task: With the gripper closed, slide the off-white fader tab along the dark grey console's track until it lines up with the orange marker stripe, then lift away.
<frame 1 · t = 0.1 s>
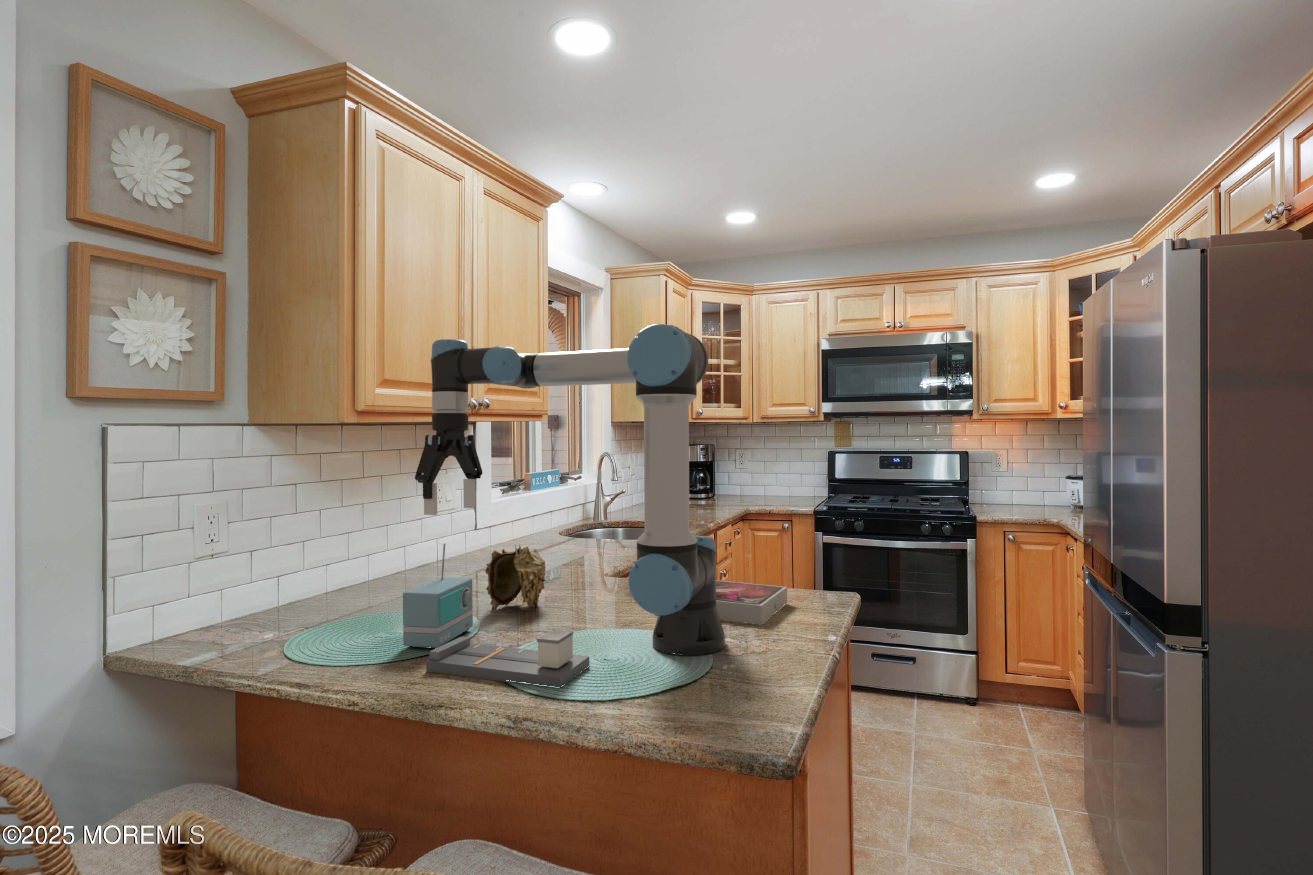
hand: (451, 511, 148), 28 cm above the table, tool pointing down, fingers open, 13 cm apart
seashell: (517, 609, 175), on the table
fader console: (508, 668, 130), on the table
product packaging: (721, 610, 175), on the table
radio: (441, 640, 149), on the table
fader tab: (555, 648, 127), point 5 cm above the table, slide at 0.0 cm
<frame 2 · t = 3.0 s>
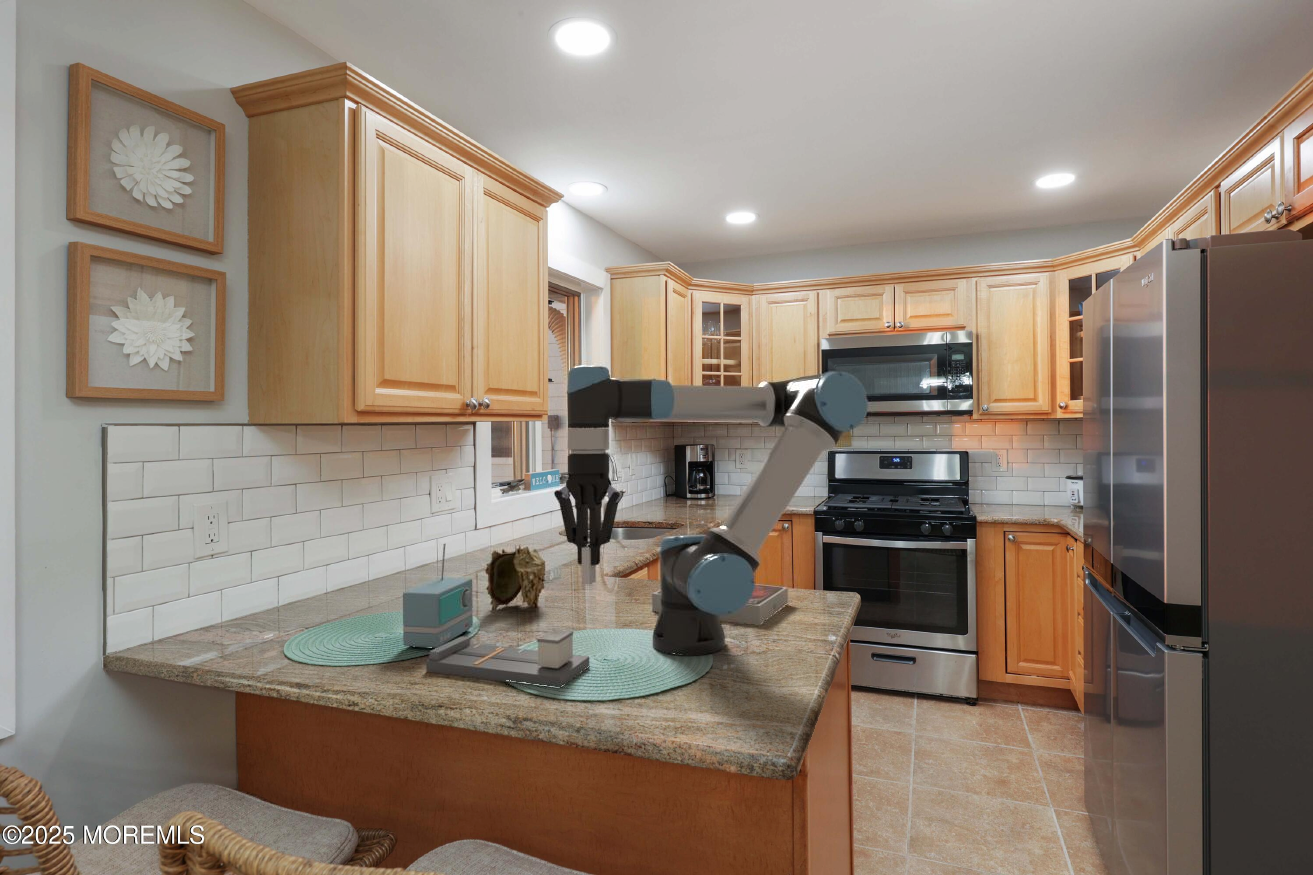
hand: (588, 582, 124), 17 cm above the table, tool pointing down, fingers closed
nothing on the table moved.
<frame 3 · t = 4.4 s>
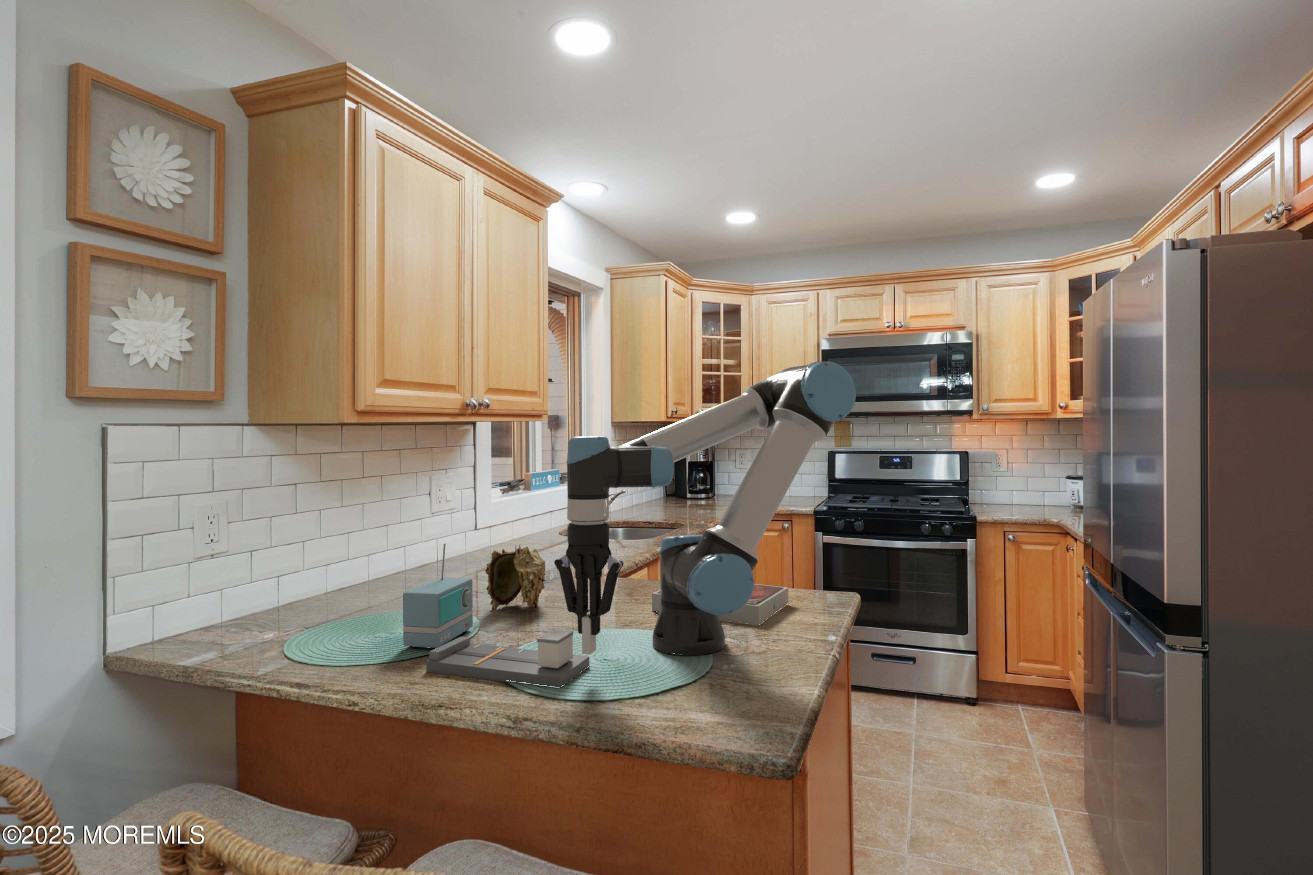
hand: (589, 651, 124), 5 cm above the table, tool pointing down, fingers closed
nothing on the table moved.
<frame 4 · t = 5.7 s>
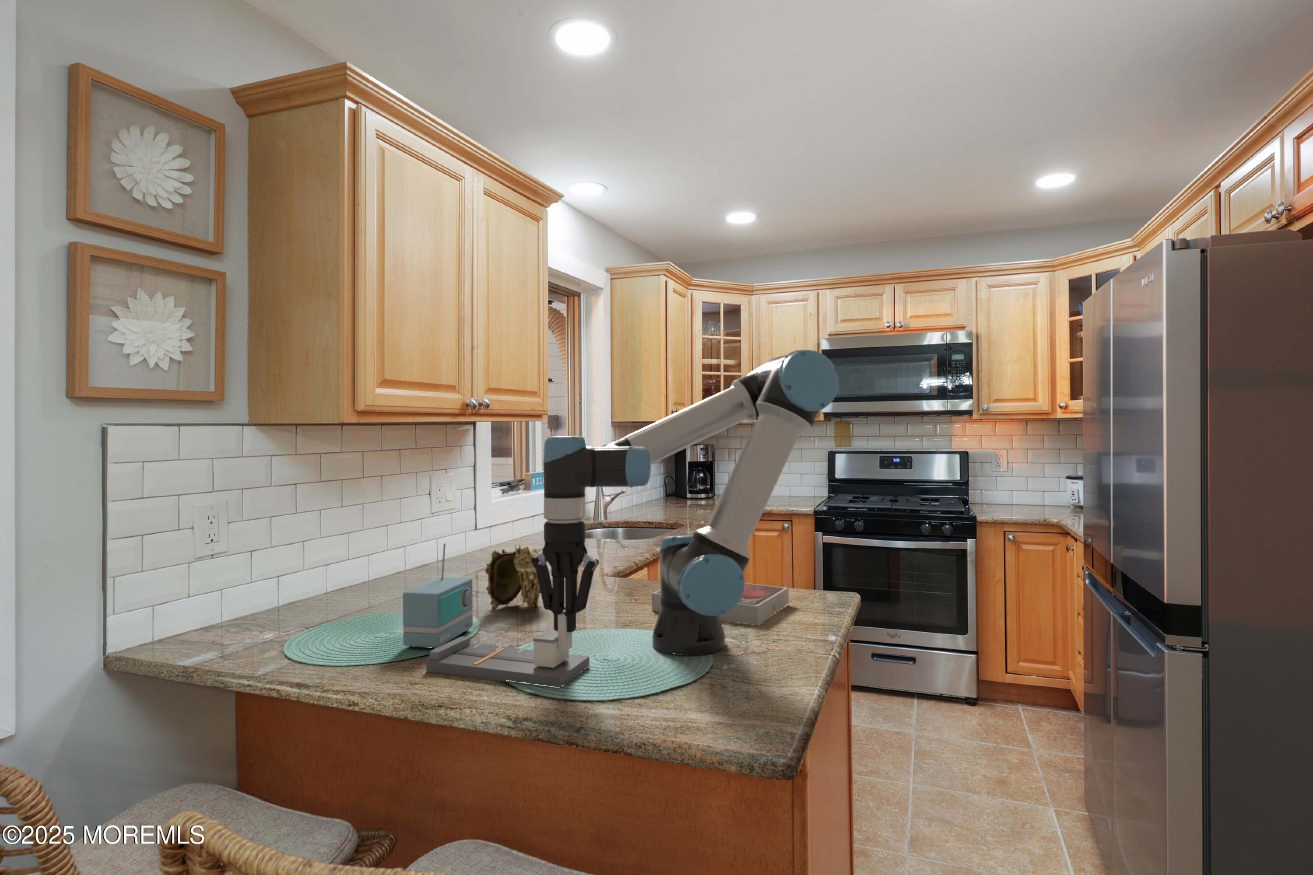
hand: (565, 648, 126), 5 cm above the table, tool pointing down, fingers closed
fader tab: (551, 647, 127), point 5 cm above the table, slide at 0.8 cm, touching gripper
everything else where it was.
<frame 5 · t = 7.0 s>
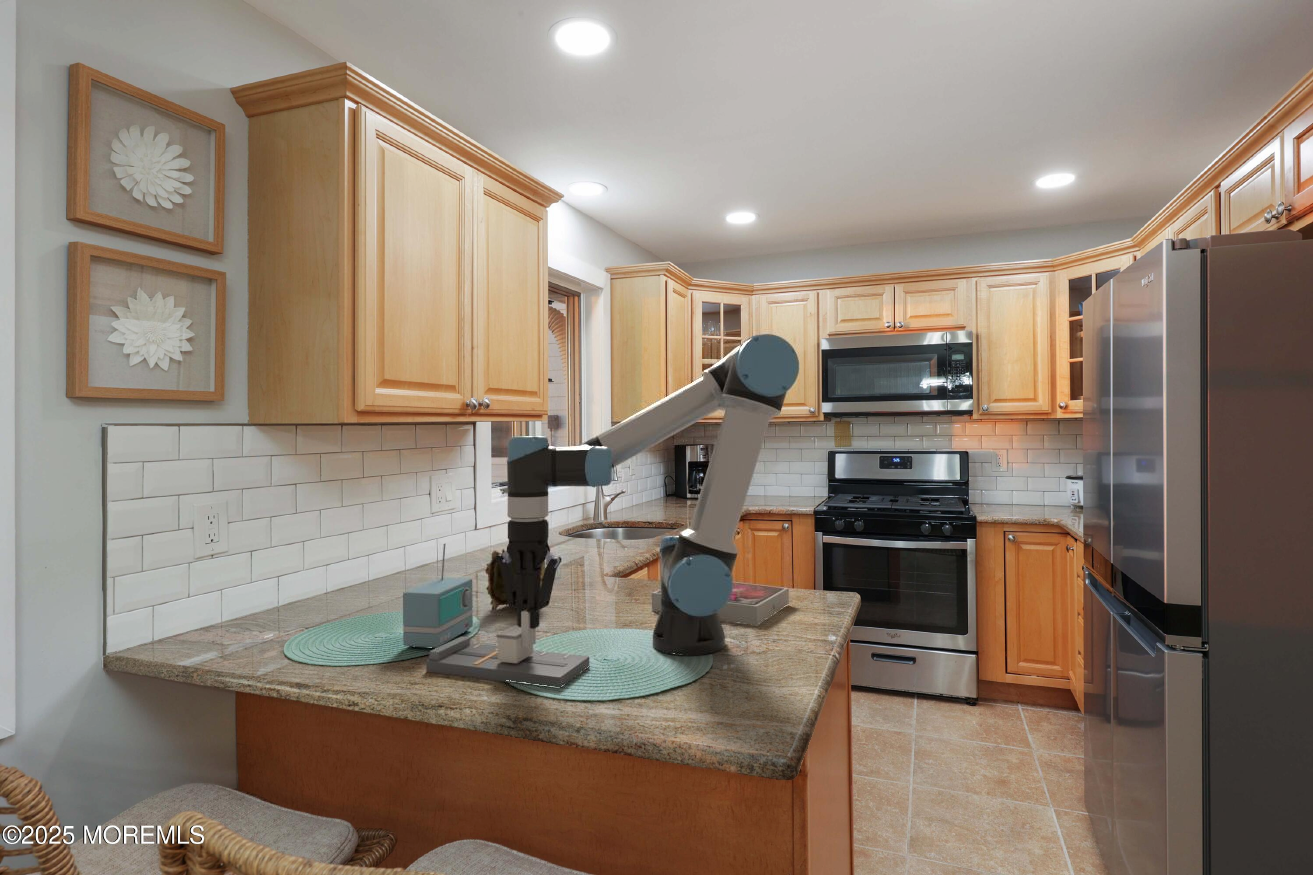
hand: (528, 644, 128), 5 cm above the table, tool pointing down, fingers closed
fader tab: (515, 643, 129), point 5 cm above the table, slide at 8.4 cm, touching gripper
everything else where it was.
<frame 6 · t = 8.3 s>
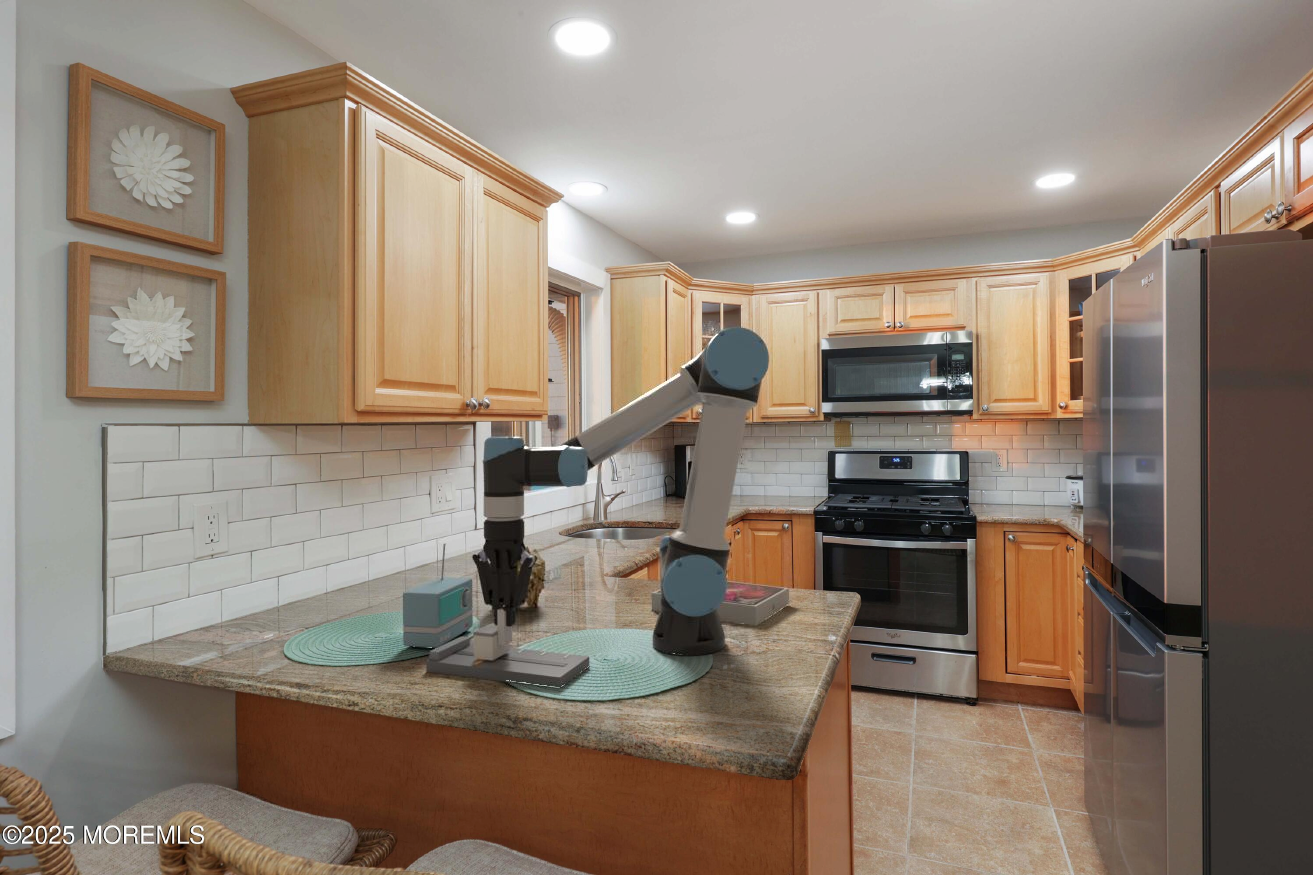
hand: (504, 642, 130), 5 cm above the table, tool pointing down, fingers closed
fader tab: (492, 641, 131), point 5 cm above the table, slide at 13.5 cm, touching gripper
everything else where it was.
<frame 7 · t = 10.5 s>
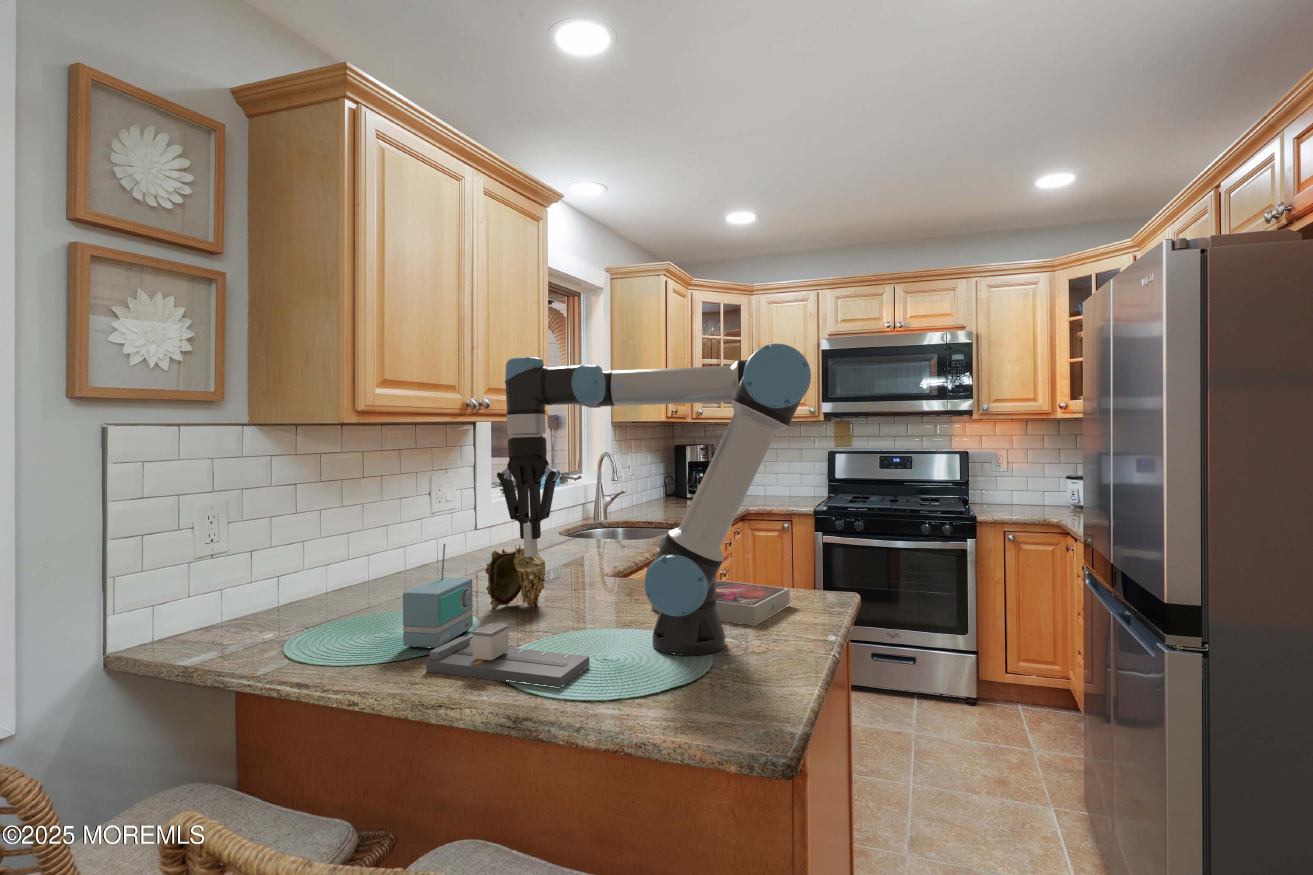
hand: (531, 555, 136), 20 cm above the table, tool pointing down, fingers closed
fader tab: (490, 641, 131), point 5 cm above the table, slide at 13.8 cm
everything else where it was.
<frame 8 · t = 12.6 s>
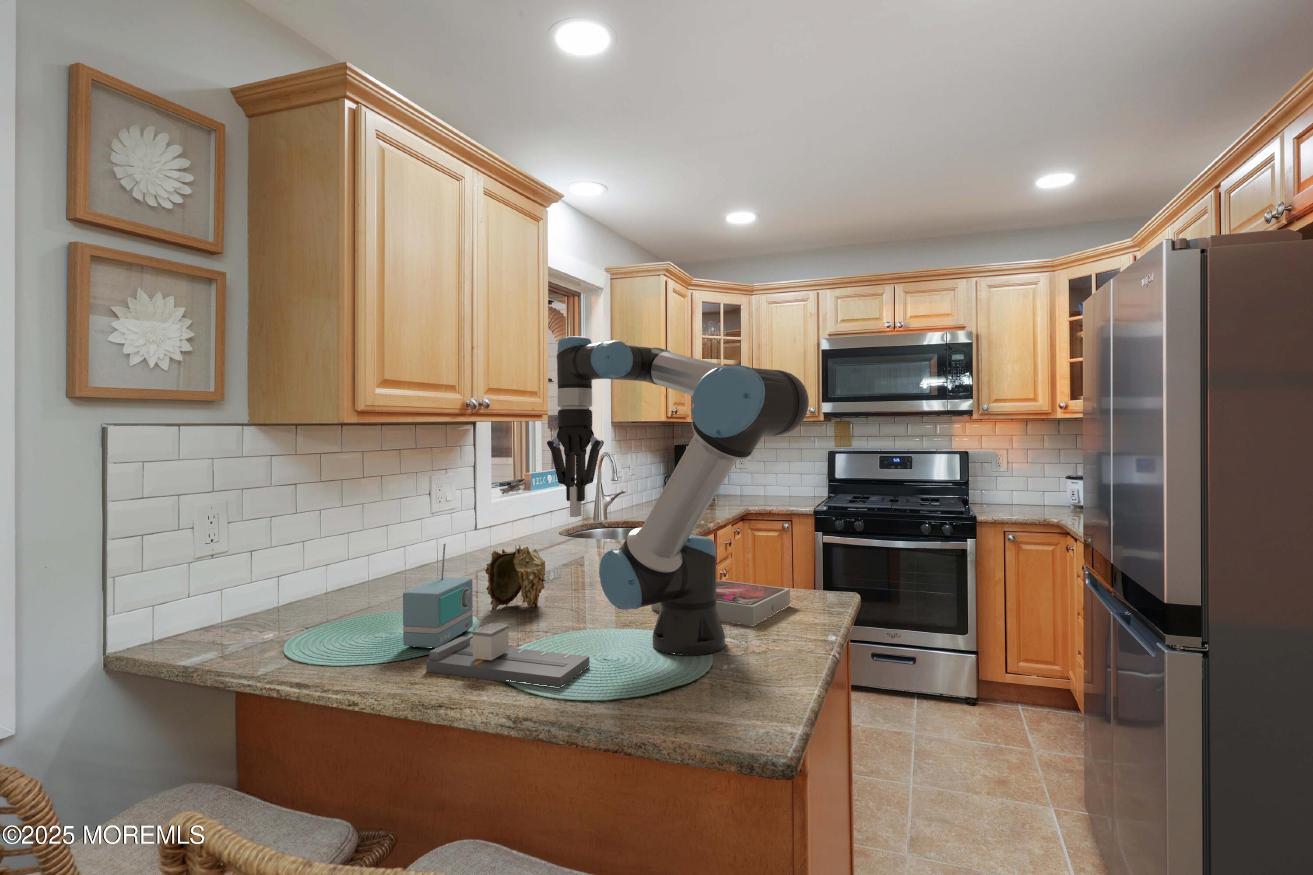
hand: (575, 516, 151), 26 cm above the table, tool pointing down, fingers closed
at the end: fader tab slide at 13.8 cm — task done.
